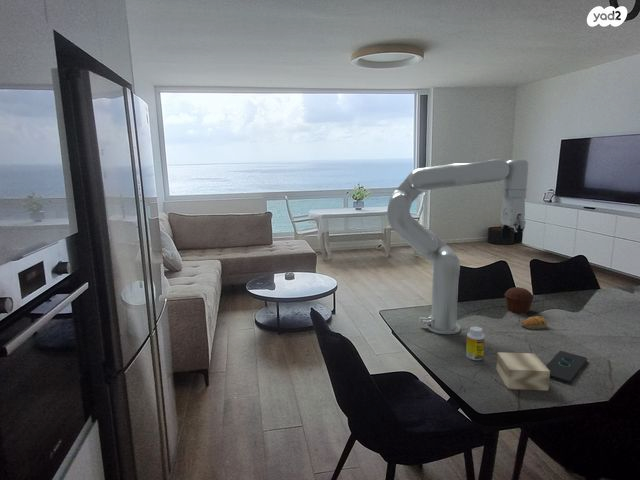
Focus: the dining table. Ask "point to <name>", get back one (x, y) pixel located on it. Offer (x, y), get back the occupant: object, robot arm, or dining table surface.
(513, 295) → the muffin
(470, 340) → the supplement bottle
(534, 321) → the pastry
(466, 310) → the dining table surface
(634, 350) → the dining table surface
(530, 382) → the oak block
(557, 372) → the smart home device
